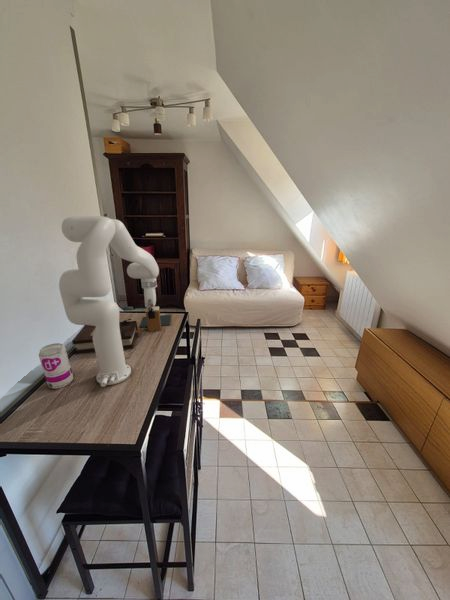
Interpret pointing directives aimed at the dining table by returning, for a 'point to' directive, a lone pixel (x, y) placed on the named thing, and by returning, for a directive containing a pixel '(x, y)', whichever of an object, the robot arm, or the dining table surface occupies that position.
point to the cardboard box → (154, 320)
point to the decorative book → (86, 333)
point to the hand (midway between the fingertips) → (152, 314)
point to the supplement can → (56, 365)
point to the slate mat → (164, 321)
